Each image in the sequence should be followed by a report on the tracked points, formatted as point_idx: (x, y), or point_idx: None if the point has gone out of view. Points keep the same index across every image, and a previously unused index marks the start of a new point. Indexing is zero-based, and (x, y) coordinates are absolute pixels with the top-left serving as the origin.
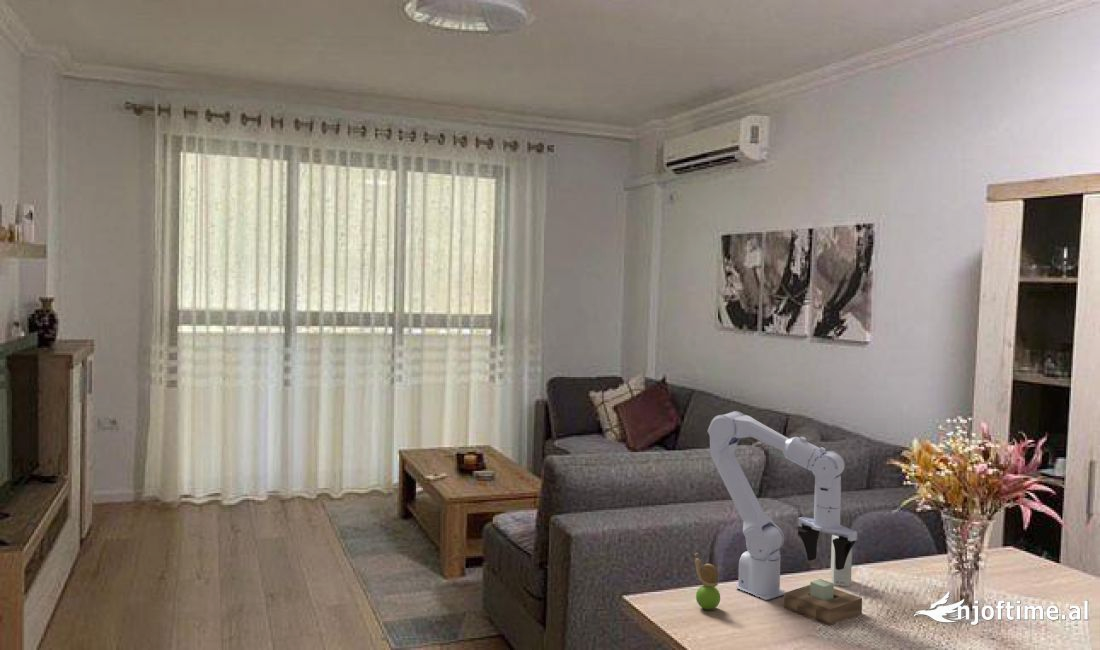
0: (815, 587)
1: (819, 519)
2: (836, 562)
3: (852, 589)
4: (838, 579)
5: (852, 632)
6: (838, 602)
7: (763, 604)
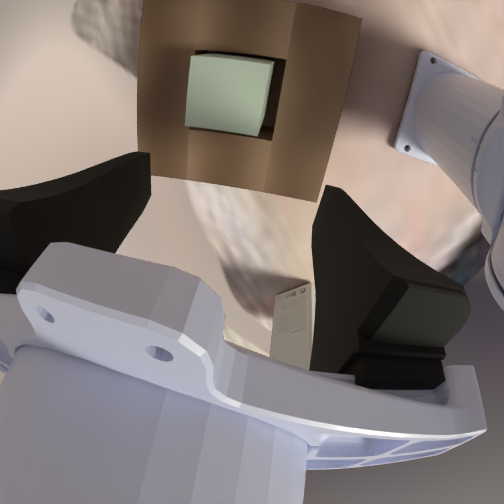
0: (241, 59)
1: (61, 498)
2: (122, 160)
3: (265, 284)
4: (300, 297)
5: (104, 21)
6: (158, 74)
7: (413, 18)
